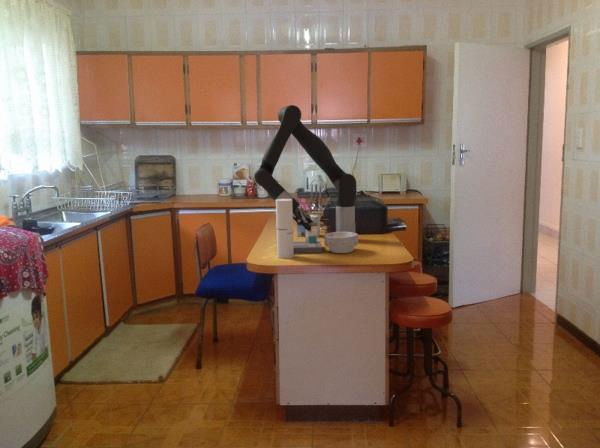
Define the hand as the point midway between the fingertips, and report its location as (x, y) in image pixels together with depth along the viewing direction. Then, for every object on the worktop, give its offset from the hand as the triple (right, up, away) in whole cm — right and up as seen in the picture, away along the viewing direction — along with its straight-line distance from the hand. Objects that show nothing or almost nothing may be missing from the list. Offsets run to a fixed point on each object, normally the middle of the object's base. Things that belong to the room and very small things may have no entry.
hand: (312, 228), depth 248 cm
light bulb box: (-1, -5, +36) cm, 36 cm away
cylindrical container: (-12, -13, -9) cm, 20 cm away
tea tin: (0, -8, +2) cm, 8 cm away
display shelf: (-4, -10, +3) cm, 11 cm away
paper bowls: (+13, -11, -1) cm, 17 cm away
